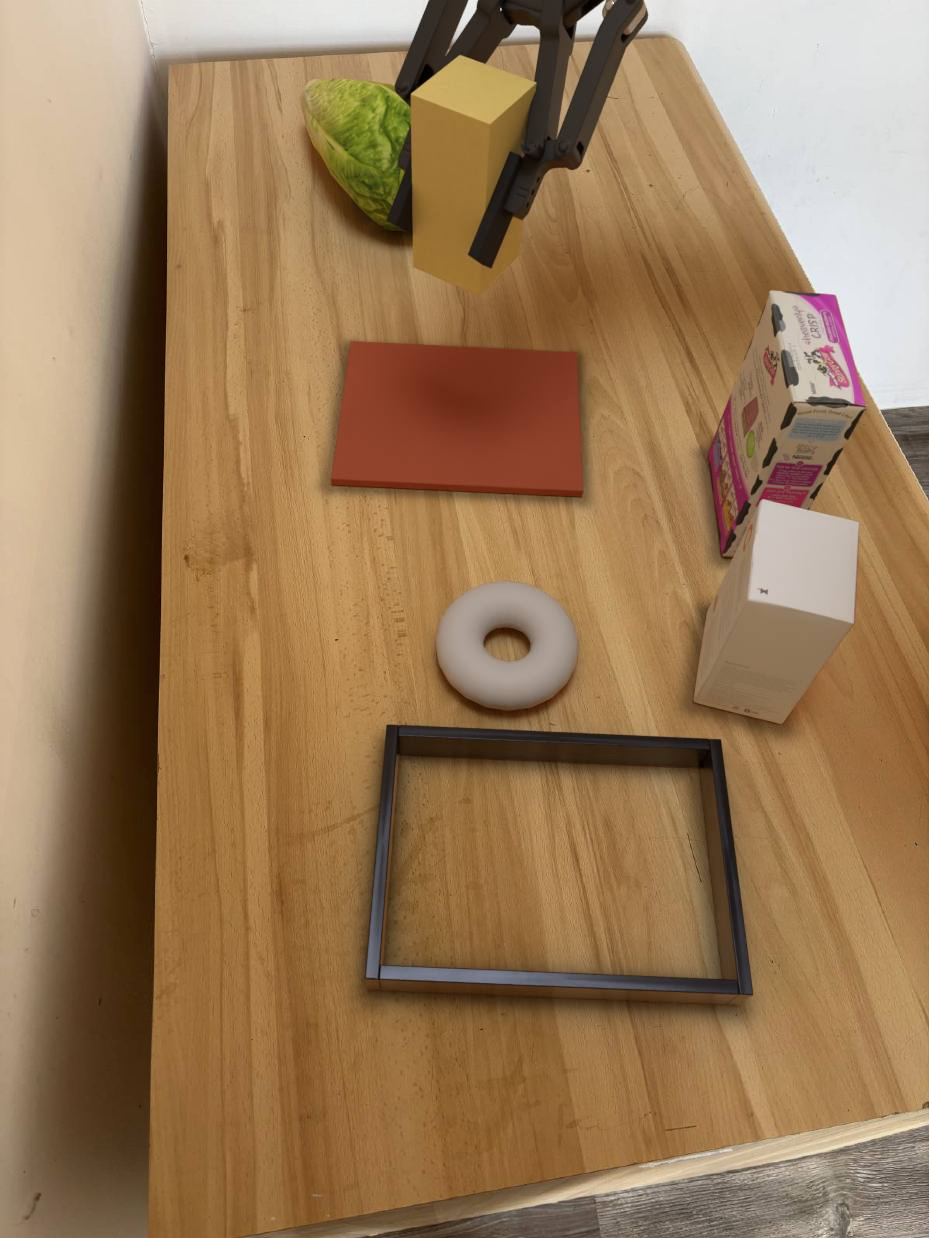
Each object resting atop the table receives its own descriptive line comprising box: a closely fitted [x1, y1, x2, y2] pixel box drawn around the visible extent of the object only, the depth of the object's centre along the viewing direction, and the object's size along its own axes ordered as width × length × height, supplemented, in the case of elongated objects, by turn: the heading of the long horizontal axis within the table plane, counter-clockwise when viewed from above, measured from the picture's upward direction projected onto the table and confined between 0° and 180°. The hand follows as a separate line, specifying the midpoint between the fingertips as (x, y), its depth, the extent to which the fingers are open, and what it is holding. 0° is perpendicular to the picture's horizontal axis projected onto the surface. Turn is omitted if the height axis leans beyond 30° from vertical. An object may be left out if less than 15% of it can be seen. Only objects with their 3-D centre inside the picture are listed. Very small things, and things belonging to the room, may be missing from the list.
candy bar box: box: [707, 289, 868, 559], centre depth 68 cm, size 11×5×16 cm, turn 178°
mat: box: [330, 340, 584, 498], centre depth 78 cm, size 20×16×1 cm
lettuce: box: [299, 78, 411, 232], centre depth 92 cm, size 12×24×13 cm
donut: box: [434, 580, 580, 711], centre depth 65 cm, size 10×4×10 cm
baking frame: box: [364, 723, 754, 1006], centre depth 57 cm, size 22×16×3 cm
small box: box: [693, 499, 861, 725], centre depth 61 cm, size 8×6×13 cm
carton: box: [411, 55, 537, 297], centre depth 61 cm, size 6×6×12 cm
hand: (439, 244), depth 61 cm, fingers closed on carton, 5 cm apart
